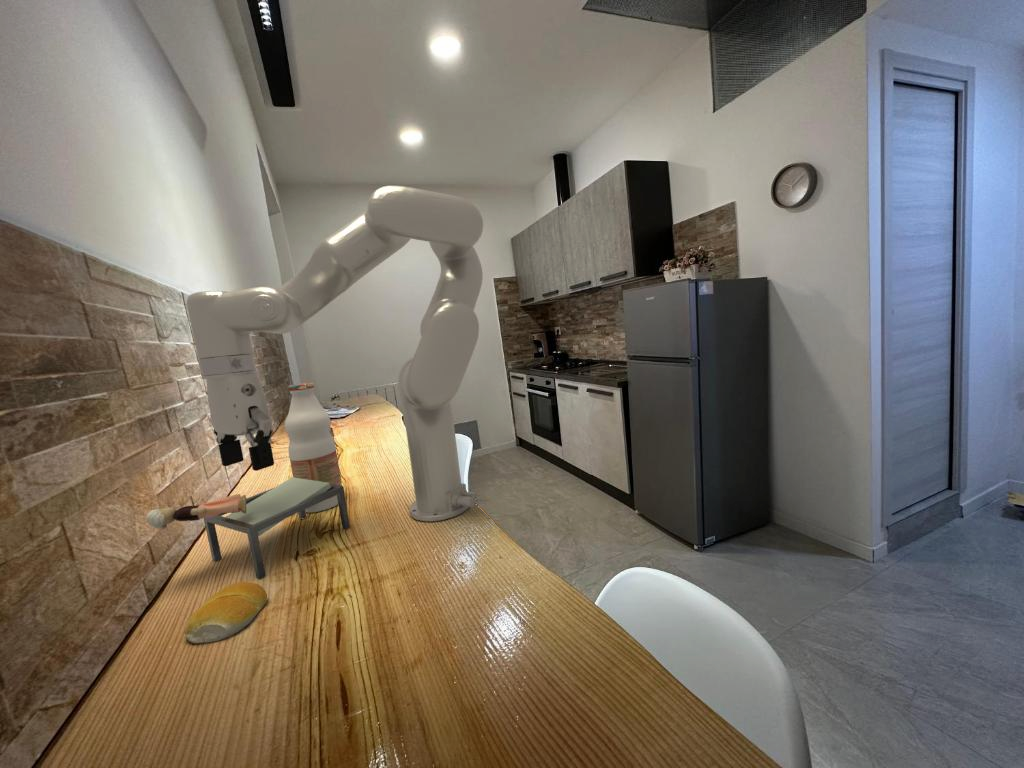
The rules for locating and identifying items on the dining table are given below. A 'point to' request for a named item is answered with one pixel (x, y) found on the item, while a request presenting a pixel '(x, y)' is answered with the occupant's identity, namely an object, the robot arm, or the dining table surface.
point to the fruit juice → (311, 442)
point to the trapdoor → (280, 500)
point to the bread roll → (225, 612)
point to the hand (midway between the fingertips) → (248, 465)
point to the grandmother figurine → (196, 511)
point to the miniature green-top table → (253, 529)
